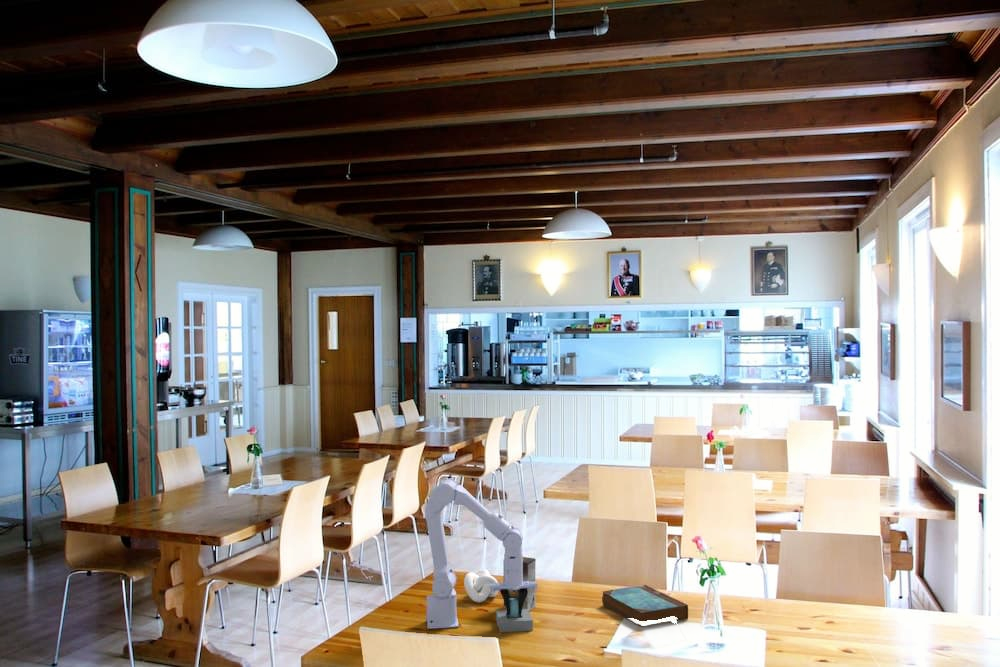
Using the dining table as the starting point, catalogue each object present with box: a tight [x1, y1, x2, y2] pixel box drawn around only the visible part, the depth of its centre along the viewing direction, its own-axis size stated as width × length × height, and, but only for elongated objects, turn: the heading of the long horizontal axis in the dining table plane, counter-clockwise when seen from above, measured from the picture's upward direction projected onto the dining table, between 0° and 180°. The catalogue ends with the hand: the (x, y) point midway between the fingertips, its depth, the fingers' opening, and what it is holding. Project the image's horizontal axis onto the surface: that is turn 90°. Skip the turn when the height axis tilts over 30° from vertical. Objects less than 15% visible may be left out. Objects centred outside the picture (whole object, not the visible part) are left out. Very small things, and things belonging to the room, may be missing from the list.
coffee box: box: [503, 556, 537, 612], centre depth 256 cm, size 9×6×16 cm
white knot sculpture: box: [463, 568, 499, 603], centre depth 266 cm, size 11×12×9 cm
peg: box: [509, 598, 519, 618], centre depth 240 cm, size 3×3×6 cm
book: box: [601, 584, 689, 621], centre depth 250 cm, size 23×18×5 cm
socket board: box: [495, 609, 534, 633], centre depth 240 cm, size 10×10×3 cm
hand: (513, 613), depth 240 cm, fingers closed on peg, 3 cm apart
